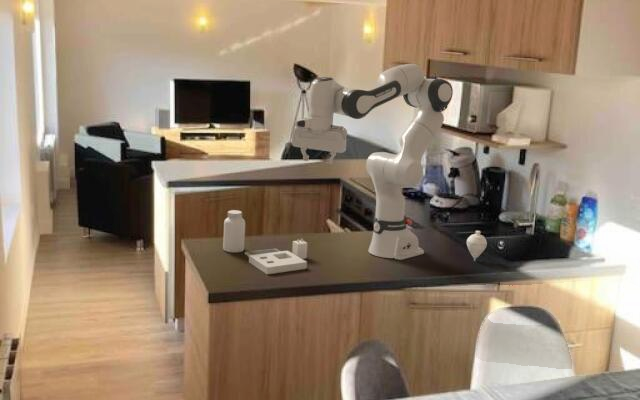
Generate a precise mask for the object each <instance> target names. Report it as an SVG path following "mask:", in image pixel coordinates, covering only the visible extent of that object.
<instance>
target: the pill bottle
mask: <svg viewBox="0 0 640 400" xmlns="http://www.w3.org/2000/svg"><path fill="white" fill-rule="evenodd" d="M245 234H246V221H245V219H244V218H243V212H242V211H241V210H235V209H231V210H228V211H227V217H226V218H225V219H224V222H223V241H222V242H223V244H222V249H223V251H224V252H227V253H233V254H234V253H241V252H243V251H244V250H245V237H246V235H245Z"/></svg>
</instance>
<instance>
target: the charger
mask: <svg viewBox="0 0 640 400" xmlns="http://www.w3.org/2000/svg"><path fill="white" fill-rule="evenodd" d="M291 249H292V250H291V253H293V254H294V255H296V256H298V257H300V258H301V259H303V260H305V259H307V256H308V255H307V254H308V242H306V241H305V240H304V239H303V238H300V239H299V238H297V240H293V241H292V247H291Z"/></svg>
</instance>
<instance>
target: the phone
mask: <svg viewBox="0 0 640 400" xmlns="http://www.w3.org/2000/svg"><path fill="white" fill-rule="evenodd" d="M280 251H281V250H279V249H277V248H270V249H260V250H253V251H245V252H244V255H245V256H246V255H247V257H248V258H249V255H257V254H264V253H272V252H280Z"/></svg>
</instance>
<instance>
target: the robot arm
mask: <svg viewBox="0 0 640 400" xmlns="http://www.w3.org/2000/svg"><path fill="white" fill-rule="evenodd" d="M376 83H377V85H376V87H373V88H370V89H369V90H363V89H355V88H354V89H353V88H348V87H345V86H344V85H341V84H339V83H338V82H337V81H336V80H335V78H333V77H331V76H330V77H329V76H325V77H317V78H315V79H314V80H313V81H312V82H311V86H310V88H309V89H310V90H309V98H308V99H309V100H308V102H309V111H308V116H307V117H305V118H301V119H299V120H295V122H294V126H295V127H294V129H293V131H292V136H291V145H292V146H293V147H296V148H300V151H301V154H302V156H303V157H302V160H303V161H307V162H308V161H309V160H310V159H309V158H310V155H308V154H307V149H308V150H315V151H316V150H317V151H323V152H330V153H329V155H331V156H330V157H329V158H327V159H326V164H327V165H333V160H334V159H335V157H336V155H337V153H339V154H342V153H346V151H347V137H348V130H347V129H346V128H345V127H344V126H341V125H334V124H333V123H334V114H338V115H342V116H345V117H348V118H352V119H355V120H360V119H363V118H364V117H367V115H368V114H369V113H370V112H371V111H373V110H374V109H375V108H377V107H380V106H381V105H384V104H385V103H388V102H390V101H392V100H394V99H396V98H400V97H401V96H402V97H403V100H404V102H405V103H406V104H407V106H409V107H413V108H418V110H417V112H416V115H415V116H414V117H413V119H412V120H411V121H410V123H409V124H408V126H406V128H405V130H404V131H403V132H402V133H401V135H400V136H399V140H398V141H399V145H400V147H401V149H400V151H399V152H398V153H397V154H393V153H392V152H391V153H389V152H386V151H377V152H376V151H375V152H373V153H371V154H370V155H369V156H368V158H367V159H366V162H365V170H366V173H367V174H368V175H369V176H370V179H371V180H372V183H373V185H374V186H373V187H374V191H375V198H376V199H375V201H376V202H375V216H374V217H373V223H372V224H373V233H372V235H371V236H372V238H371V241H370V245H369V248H368V250H367V251H368V253H369V254H371V255H373V256H376V257H379V258H384V259H385V258H386V259H393V258H394V260H399V261H401V260H405V259H409V258H413V257H416V256H420V255H423V254H424V253H425V250H424V249H423V248H421V247H420V246H419V239H418V236H417V235H416V234H414V233H413V232H412V231H411V230H410V229H409V228H408V227H407V225H408V226H411V225H413V221H412V220H411V219H409V218H408V219H406V218H405V210H406V209H405V208H406V198H405V196H404V195H403V194H402V193H401V190H400V188H399V186H400V187H404V188H405V187H406V188H408V187H413V188H414V187H416V186H418V185H419V184H420V183H421V181H422V179H423V177H424V168H423V166H422V159H423V156H424V155H425V152H426V151H427V149H428V148H429V146H430V145H431V144H432V142H433V141H434V139H436V136H437V135H438V134H439V131H441V127H442V126H443V123H444V120H445V117H444V113H443V112H444V111H445V110H447V108H448V106H449V104H450V102H451V101H452V98H453V95H454V89H453V86H452V84H451V83H450V81H448V80H446V79H443V78H425V71H424V70H423V68H422V67H421V66H420V65H418V64H416V63H406V64H400V65H397V66H393V67H391V68H388V69H386V70H384V71H383V72H380V74H379V75H378V77H377V82H376Z"/></svg>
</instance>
